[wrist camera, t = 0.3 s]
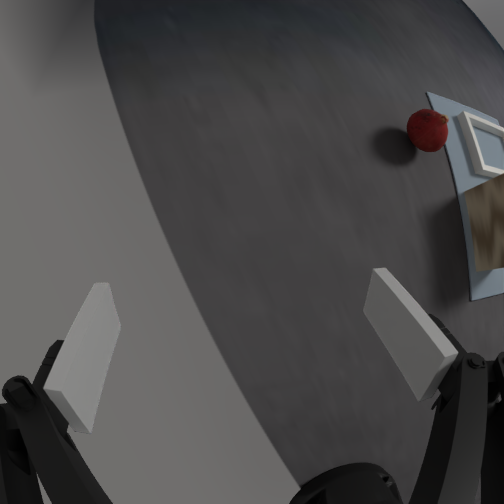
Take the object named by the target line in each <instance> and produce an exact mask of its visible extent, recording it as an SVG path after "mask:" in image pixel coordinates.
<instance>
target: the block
mask: <svg viewBox="0 0 504 504" xmlns="http://www.w3.org/2000/svg"><path fill="white" fill-rule="evenodd" d="M464 195H465V199H466V204H467V209H468V215H469V220H470V226H471V233H472V240H473V247H474V256H475V266H476V272H479V271H486V270H493V269H499V268H504V173H503V174H501V175H499V176H497V177H494V178H492V179H490V180H488V181H486V182H484V183H482V184H480V185H477V186H475V187H473V188H471V189H469V190H467V191H464Z"/></svg>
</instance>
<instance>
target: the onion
mask: <svg viewBox="0 0 504 504" xmlns="http://www.w3.org/2000/svg"><path fill="white" fill-rule="evenodd" d="M448 121H449V118H448V116H447V115H444V114H440V113H438V112H437V111H434V110H429V109H422V110H419V111H417V112H416V113H414V114H412V115H411V117H410V118H409V120H408V123H407V133H408V137H409V138H410V140H411V142H412V143H413V144H414V145H415V146H416V147H417V148H419V149H420V150H423V151H425V152H435V151H438V150H439V149H440V148H441V147H442V146H443V145H444V144H445V143H446V141H447V137H448V126H447V123H448Z"/></svg>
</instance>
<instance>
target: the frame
mask: <svg viewBox="0 0 504 504" xmlns="http://www.w3.org/2000/svg"><path fill="white" fill-rule="evenodd" d="M457 118H458V120H459V123H460V126H461V129H462V132H463V135H464V138H465V141H466V144H467V147H468V150H469V153H470V157H471V160H472V164H473V167H474V171H475V174H479V175H483V176H488V177H492V178H494V177H497V176H499V175H501V174H503V173H504V170H502V169H498V168H495V167H491V166H488V165H485V164H484V160H483V157H482V154H481V150H480V147H479V144H478V141H477V138H476V135H475V132H474V130H473V127H472V126H475V127H477V128H480V129H483V130H485V131H488V132H490V133H493V134H495V135H497V136H500V137H502V139H503V142H504V128H503V127H500V126H498V125H496V124H494V123H492V122H489V121H487V120H485V119H483V118H480V117H478V116H475V115H473V114H470V113H468V112H465V111H462V112H461V113H460V114H459V115H457Z"/></svg>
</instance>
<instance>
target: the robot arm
mask: <svg viewBox="0 0 504 504" xmlns="http://www.w3.org/2000/svg"><path fill="white" fill-rule="evenodd" d="M363 313H364V314H365V316H366V317H367V319H368V320H369V322H370V323H371V325H372V326H373V328H374V330H375V331H376V333H377V334H378V336H379V337H380V339H381V340H382V342H383V344H384V345H385V347H386V348H387V350H388V352H389V353H390V355H391V356H392V358H393V360H394V361H395V363H396V365H397V366H398V368H399V370H400V371H401V373H402V374H403V376H404V378H405V379H406V381H407V383H408V385H409V386H410V388H411V390H412V391H413V393H414V395H415V396H416V398H417V400H418V402H420V401H423V400H426V399H428V398H431V397H432V396H433V395H434V393H435V392H436V390H437V389H439V391H440V392H441V394H440V396H439V397H438V399H437V400H436V401H435V403H434V404H433V406H432V408H431V409H432V410H433V409H434V408H435V406H436V405H437V407H436V412H435V417H434V421H433V426H432V430H431V434H430V438H429V442H428V446H427V450H426V453H425V457H424V460H423V464H422V467H421V470H420V473H419V476H418V479H417V482H416V485H415V488H414V491H413V493H412V496H411V499H410V501H409V504H474V500H475V496H476V492H477V487H478V482H479V477H480V471H481V504H504V352H501V353H500V354H499V355H498V357H497V358H496V360H495V361H485V360H484V358H483V357H481V356H480V355H478V354H476V353H467V352H466V351H465V350H464V348H463V347H462V346H461V345H460V343H459V342H458V341H457V340H456V339H455V337H454V336H453V335H452V334H450V331H449V330H448V329H447V328H445V326H444V324H443V323H442V322H441V321H440V320H439V319H438V318H436V317H435V316H433V315H432V314H428V315H427V314H426V312H425V311H424V310H423V309H422V308H421V307H420V305H419V304H418V303H417V302H416V301H415V300H414V299H413V297H412V296H411V295H410V294H409V293H408V292H407V291H406V290H405V289H404V287H403V286H402V285H401V284H400V283H399V282H398V281H397V280H396V279H395V278H394V277H393V275H392V274H391V273H390V272H389V271H388V270H387V269H386V268H377V269H373V272H372V276H371V281H370V285H369V289H368V293H367V297H366V301H365V305H364V309H363ZM120 329H121V324H120V321H119V318H118V314H117V311H116V308H115V304H114V301H113V297H112V293H111V289H110V286H109V283H95V284H94V285H93V288H92V289H91V291H90V293H89V294H88V296H87V298H86V300H85V302H84V304H83V306H82V307H81V309H80V311H79V313H78V315H77V317H76V319H75V321H74V323H73V324H72V326H71V328H70V331H69V333H68V334H67V337H66V339H65V340H57V341H56V342H55V343H54V344H53V345H52V346H51V347H50V348H49V350H48V352H47V354H46V356H45V358H44V360H43V362H42V365H41V366H40V368H39V370H38V373H37V375H36V377H35V379H34V381H33V384H31V383H30V381H29V380H28V378H26V377H24V376H15V377H12V378H11V379H9V380H8V381H7V382H6V383H5V384H4V386H3V389H2V396H3V397H4V399H5V400H6V401H7V403H6V404H5V403H4V404H0V504H44V503H43V499H42V495H41V491H40V487H39V483H38V478H37V474H38V477H39V478H40V481H41V483H42V485H43V487H44V489H45V491H46V493H47V495H48V497H49V498H50V501H51V502H52V504H113V503H112V502H111V500H110V499H109V498H108V496H107V495H106V493H105V492H104V491H103V489H102V488H101V486H100V485H99V483H98V482H97V480H96V479H95V477H94V476H93V474H92V473H91V471H90V469H89V468H88V466H87V465H86V463H85V461H84V460H83V458H82V456H81V455H80V453H79V451H78V449H77V448H76V446H75V444H74V442H73V440H72V439H71V437H70V435H69V434H68V433H67V428H68V425H70V426H71V427H72V429H73V430H74V431H75V432H81V433H87V434H91V433H92V429H93V425H94V420H95V416H96V412H97V408H98V404H99V400H100V397H101V393H102V389H103V385H104V381H105V378H106V374H107V371H108V368H109V364H110V361H111V358H112V354H113V351H114V348H115V345H116V341H117V339H118V335H119V332H120ZM500 394H501V398H502V400H501V401H500V402H499V400H498V397H499V395H500ZM36 472H37V474H36ZM289 504H403V502H402V499H401V496H400V494H399V491H398V488H397V485H396V483H395V481H394V479H393V478H392V476H391V475H390V474H388V473H387V472H386V471H385V470H384V469H383V468H381V467H380V466H378V465H375V464H371V463H353V464H348V465H344V466H341V467H338V468H335V469H332V470H330V471H328V472H326V473H324V474H322V475H320V476H318V477H317V478H315V479H313V480H312V481H310V482H309V483H308V484H306V485H305V486H304V487H303V488H302V489H301V490H300V491H299V492H298V493H297V494H296V495H295V496H294V497H293V498H292V500H291V501H290V503H289Z"/></svg>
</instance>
